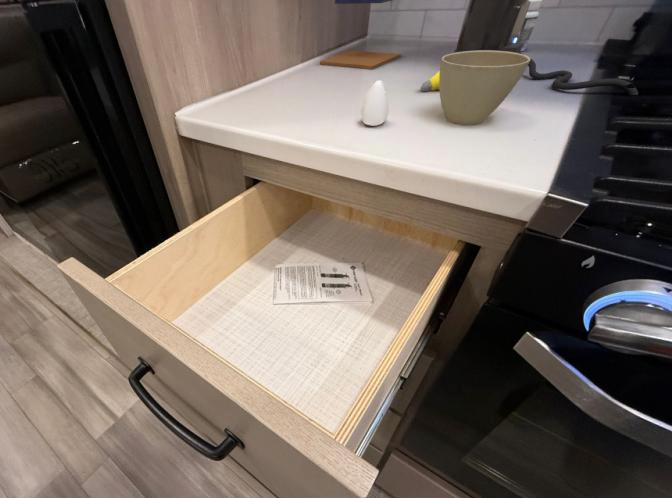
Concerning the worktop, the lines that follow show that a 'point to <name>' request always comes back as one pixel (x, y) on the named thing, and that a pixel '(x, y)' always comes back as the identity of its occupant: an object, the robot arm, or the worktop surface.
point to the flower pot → (477, 83)
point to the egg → (375, 105)
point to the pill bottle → (529, 23)
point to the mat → (360, 59)
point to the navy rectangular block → (360, 1)
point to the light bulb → (431, 83)
